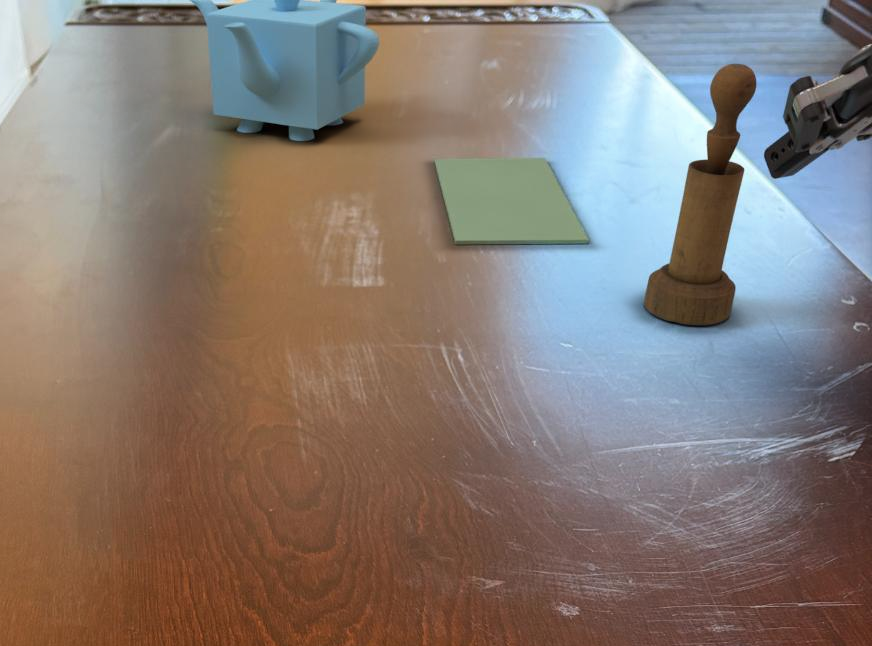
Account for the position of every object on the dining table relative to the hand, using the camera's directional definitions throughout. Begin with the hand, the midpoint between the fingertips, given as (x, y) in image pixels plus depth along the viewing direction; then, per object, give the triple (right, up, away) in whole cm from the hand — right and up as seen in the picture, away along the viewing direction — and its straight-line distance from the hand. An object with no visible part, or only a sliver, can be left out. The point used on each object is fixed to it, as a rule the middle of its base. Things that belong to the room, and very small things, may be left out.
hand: (775, 165), depth 71 cm
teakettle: (-36, +24, +54) cm, 69 cm away
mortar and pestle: (-2, -7, +12) cm, 14 cm away
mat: (-13, +8, +32) cm, 36 cm away
